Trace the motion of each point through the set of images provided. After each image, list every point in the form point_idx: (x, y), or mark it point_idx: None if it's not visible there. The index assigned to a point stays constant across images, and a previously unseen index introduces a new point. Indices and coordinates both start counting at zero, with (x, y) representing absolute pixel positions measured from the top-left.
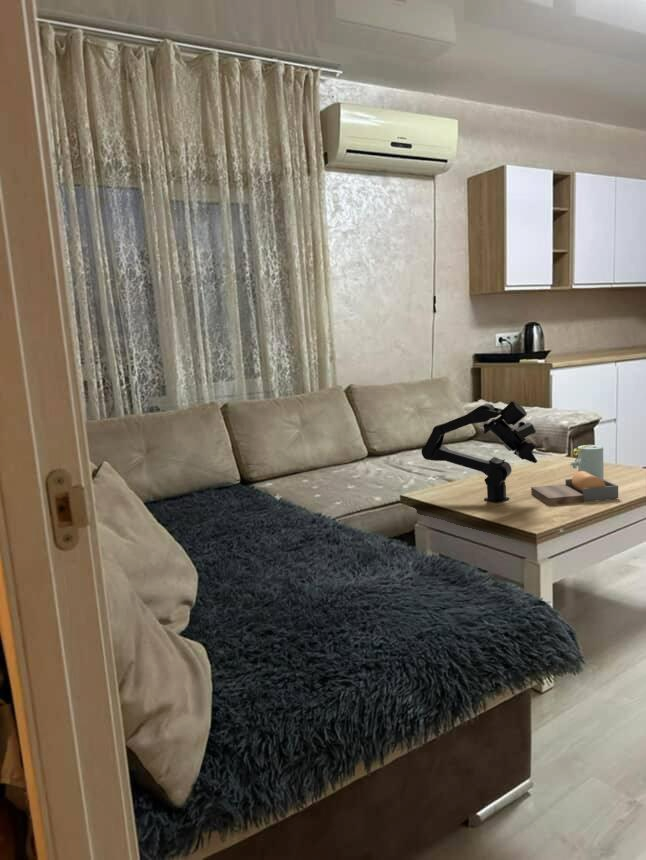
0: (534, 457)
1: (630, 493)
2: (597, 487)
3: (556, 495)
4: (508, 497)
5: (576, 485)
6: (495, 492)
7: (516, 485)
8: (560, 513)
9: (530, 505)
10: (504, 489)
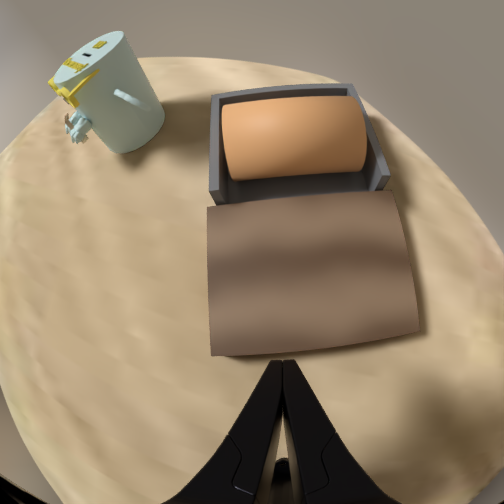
0: (315, 401)
1: (293, 79)
2: (371, 130)
3: (387, 289)
4: (279, 462)
5: (278, 173)
6: None
7: (91, 356)
8: (485, 313)
9: (392, 399)
10: (292, 494)
